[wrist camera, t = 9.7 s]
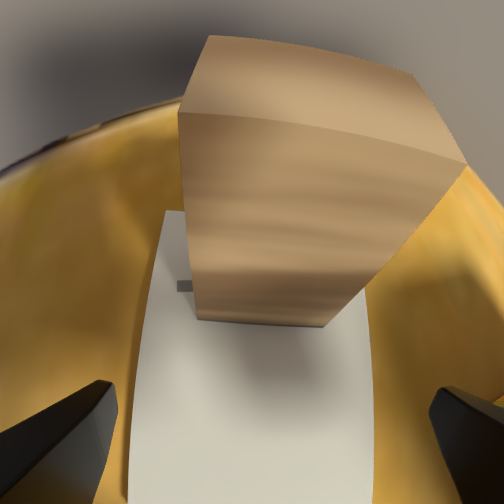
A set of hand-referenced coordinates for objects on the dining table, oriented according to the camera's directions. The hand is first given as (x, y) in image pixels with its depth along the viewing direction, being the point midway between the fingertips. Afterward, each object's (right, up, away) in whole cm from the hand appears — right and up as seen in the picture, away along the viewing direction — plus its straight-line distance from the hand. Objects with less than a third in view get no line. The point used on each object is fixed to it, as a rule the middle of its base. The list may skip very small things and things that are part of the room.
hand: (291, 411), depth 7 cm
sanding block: (0, +2, +8) cm, 9 cm away
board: (-1, -2, +7) cm, 8 cm away
